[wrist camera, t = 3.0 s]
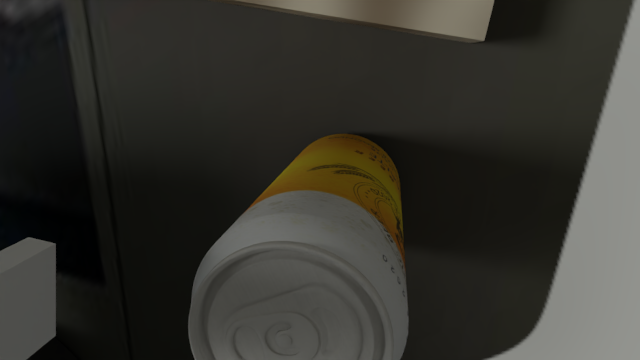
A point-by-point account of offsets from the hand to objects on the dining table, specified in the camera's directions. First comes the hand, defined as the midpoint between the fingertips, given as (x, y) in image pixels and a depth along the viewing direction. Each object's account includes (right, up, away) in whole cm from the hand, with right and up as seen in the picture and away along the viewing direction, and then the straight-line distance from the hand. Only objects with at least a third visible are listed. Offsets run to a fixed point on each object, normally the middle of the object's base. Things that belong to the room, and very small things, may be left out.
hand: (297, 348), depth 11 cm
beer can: (+2, +4, +15) cm, 16 cm away
